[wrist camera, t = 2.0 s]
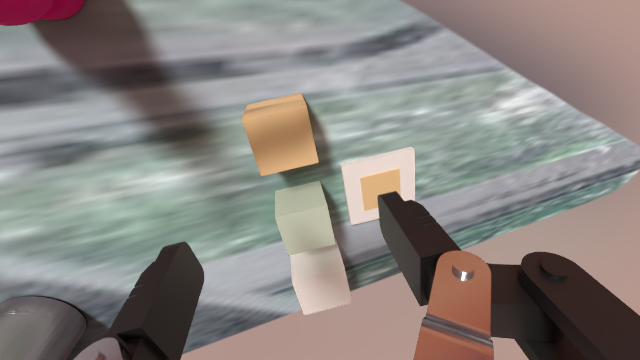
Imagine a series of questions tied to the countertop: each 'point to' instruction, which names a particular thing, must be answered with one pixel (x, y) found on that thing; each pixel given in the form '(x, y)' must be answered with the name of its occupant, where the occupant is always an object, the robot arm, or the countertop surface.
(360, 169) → the tile
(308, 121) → the maple block
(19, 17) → the pepper mill
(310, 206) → the sage block
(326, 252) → the base block
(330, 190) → the countertop surface
